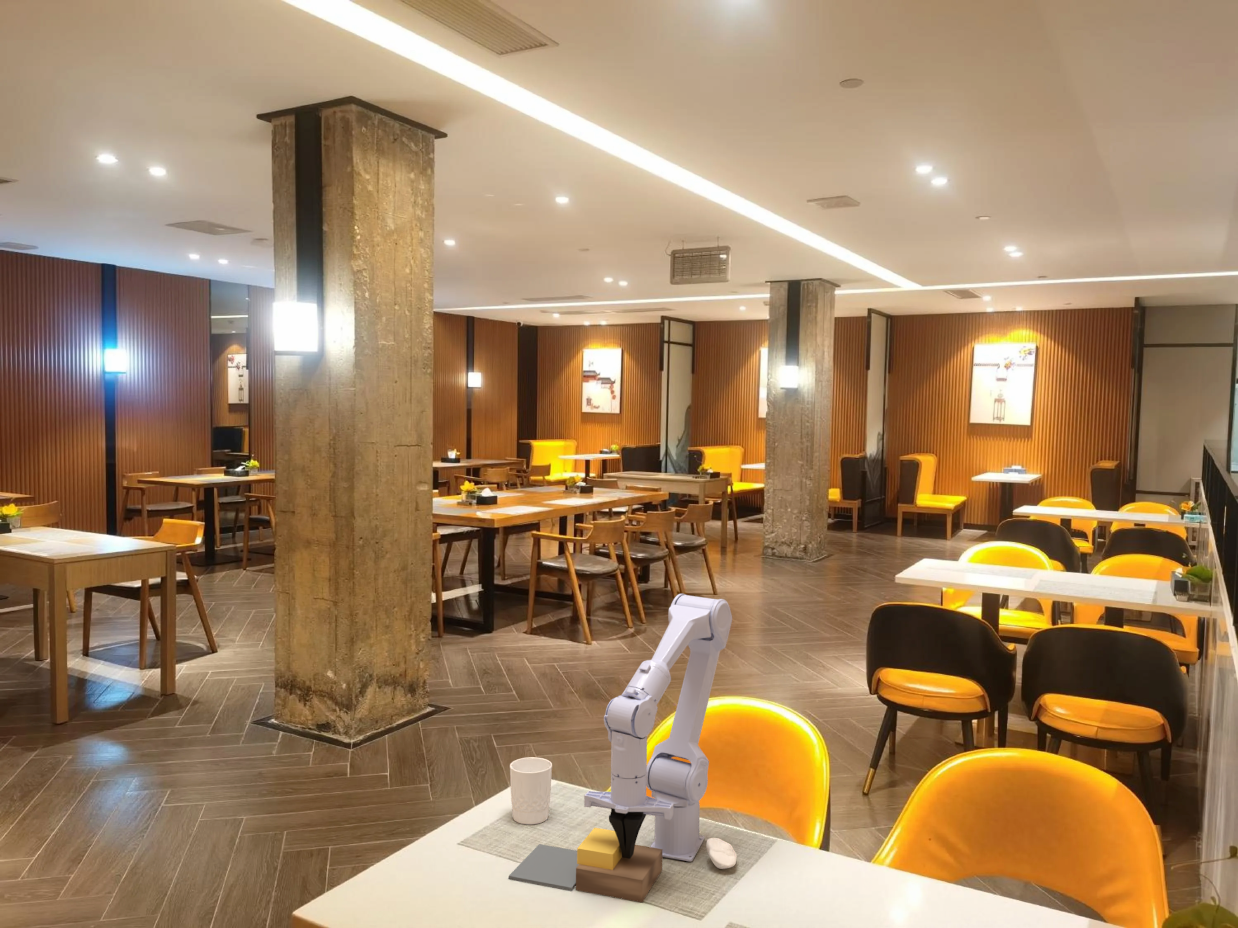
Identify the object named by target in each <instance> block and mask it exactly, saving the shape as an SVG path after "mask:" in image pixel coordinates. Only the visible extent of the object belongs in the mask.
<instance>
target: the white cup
mask: <svg viewBox="0 0 1238 928" xmlns="http://www.w3.org/2000/svg"><path fill="white" fill-rule="evenodd" d="M552 770H553V763H552V762H551V761H550V760H548V759H546V758H543V757H533V756H532V757H531V756H530V757H529V756H527V757H522V758H518V759H516V760H515V759H514V760H513V761H511V762H510V763H509V774H510V775H509V777H510V780H509V781H510V782H509V783H510V801H511V812H512V813H511V816H512V817H511V818H512V819H513V821H515V822H517V823H518V824H522V825H537V824H542V823H543V822H545V821H547V819H549V817H550V802H551V790H552V776H553V775H552V772H553V771H552Z"/></svg>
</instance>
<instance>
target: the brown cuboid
mask: <svg viewBox="0 0 1238 928" xmlns="http://www.w3.org/2000/svg"><path fill="white" fill-rule="evenodd" d="M662 850H663V849H658V848H652V847H650V846H646V845H639V844H635V848H634V854H633V855H632V857H631V858H630V859H628V858H622V857H621V859H620V860H619V862H618V863H617V865H616V866H615V867H614V869H613V870H610V869H604V868H598V867H593V866H587V865H581V864H579V865H578V866H577V868H576V886H575V891H580V892H586V893H589V894H595V895H600V896H601V895H602V896H604V897H605V896H606V897H610V896H611V897H612V898H615V897H616V898H617V899H621V898H622V900H627V901H632V902H637V903H644V901H645V900H646V897H647V896H648V894H649V892H650V891H651V889H652V887H653V886H654V884H655V882H656V881H657V879H658V878H659V876H660V874H661V873H662V871H663V857H662ZM649 890H650V891H649ZM646 895H647V896H646ZM611 897H610V898H611Z"/></svg>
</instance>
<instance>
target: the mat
mask: <svg viewBox="0 0 1238 928" xmlns="http://www.w3.org/2000/svg"><path fill="white" fill-rule="evenodd" d="M578 865H579V864H577V849H576V850H575V849H571V848H564V847H559V846H553V845H546V844H541V843H539V844H538V845H536V847H535V848H533V850H532V851H531V852H530V853H529V854H528V855H527V856H526V857H525V858H524V859H523V860H522V861H521V862H520V863H519V865H518V866H517V867H516V868H515V869H513V870H512V872H511V873H510V874H509V875H508V880H513V881H518V882H523V883H528V884H534V885H538V886H544V887H548V888H549V887H550V888H554V889H559V890H564V891H570V892H572V891H573V890H574V889H575V888H576V868H577V866H578Z"/></svg>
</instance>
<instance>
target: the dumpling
mask: <svg viewBox="0 0 1238 928" xmlns="http://www.w3.org/2000/svg"><path fill="white" fill-rule="evenodd" d="M705 844H706V852H707V854H708V857H709V859H710V860H711V861H712V864H714V866H715V867H716V868H717V869H719V870H726V869H730V868H733V867H734V866H735V865H736V863H737V861H738V856H737V852H736V851H735V849H734V847H733V846H732V844H730V843H729V842H726V841H725V840H723V839H721V838H718V837H710V838H707V840H706V843H705Z"/></svg>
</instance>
